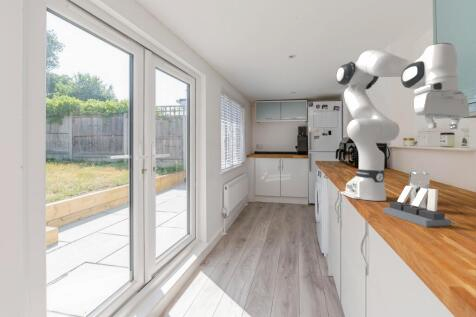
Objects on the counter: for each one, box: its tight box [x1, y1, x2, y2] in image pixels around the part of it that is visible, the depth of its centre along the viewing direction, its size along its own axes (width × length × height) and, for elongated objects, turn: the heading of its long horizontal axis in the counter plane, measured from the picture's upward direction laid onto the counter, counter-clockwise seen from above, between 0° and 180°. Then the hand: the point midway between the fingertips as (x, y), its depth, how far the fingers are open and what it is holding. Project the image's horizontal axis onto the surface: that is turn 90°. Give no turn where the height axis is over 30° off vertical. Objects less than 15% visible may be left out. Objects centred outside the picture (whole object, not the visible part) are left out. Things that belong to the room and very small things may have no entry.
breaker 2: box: [412, 188, 428, 208], centre depth 88 cm, size 2×1×7 cm
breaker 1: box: [397, 185, 413, 204], centre depth 93 cm, size 2×1×7 cm
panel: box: [382, 201, 452, 228], centre depth 87 cm, size 17×10×4 cm, turn 13°
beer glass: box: [408, 171, 431, 209], centre depth 102 cm, size 7×7×15 cm
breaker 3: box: [426, 188, 439, 212], centre depth 81 cm, size 2×1×7 cm, turn 13°
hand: (443, 128), depth 86 cm, fingers open, 8 cm apart
